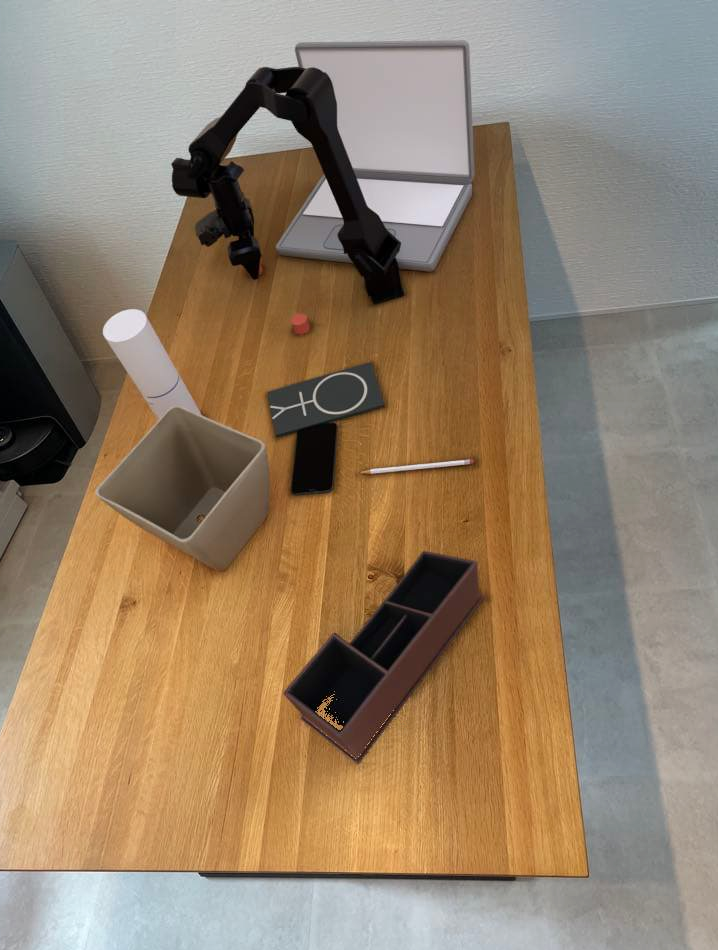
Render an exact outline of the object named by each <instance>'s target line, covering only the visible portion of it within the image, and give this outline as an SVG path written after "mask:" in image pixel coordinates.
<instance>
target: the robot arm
mask: <svg viewBox="0 0 718 950" xmlns="http://www.w3.org/2000/svg"><path fill="white" fill-rule="evenodd" d="M260 108H262V109H266V110H267V111H268V112H270V114H272V115H273V116H275V118H278V119H281V120H285V121H290V122H291V124H292V126H293V127H294V129H295V131H296V132H297V133H298V134H299V135H300V136H302V137H303V138H304V139H305V140H306V141H308V142H309V143H310V145H311V146H312V149H313V151H314V153H315V155H316V158H317V160H318V163H319V164H320V167H321V169H322V172H323V175H325V177H326V180H327V182H328V184H329V187H330V189H331V192H332V194H333V196H334V199H335V201H336V204H337V206H338V208H339V211H340V213H341V215H342V218H343V222H344V224H343V226H342V228H341V229H340V231H339V232H338V234H337V235H338V239H339V241H340V243H341V244H342V246H343V249H344V254H346V253H347V255H348V257H349V258H350V260H351V261H352V262H353V263H352V264H353V265H354V266H355V268H356V270H357V272H358V273H359V275H360V277H361V278H363V282H364V287H365V291H366V294H367V297H369V298H370V299H371V300H370V301H371V302H372V304H373V305H376V304H380V303H383V302H386V301H390V300H394V299H397V298H401V297H403V296H405V291H404V288H403V285H402V281H401V280H402V279H401V274H400V273H401V272H400V268H399V267H398V262H397V260H396V255H397V254H398V253H399V251H400V248H401V242H400V241H399V240H398V239H397V238H396V237H394V236H393V235H392V234H391V233H390V232H389V231H388V230H387V229H386V228H385V226H384V224H383V222H382V220H381V219H380V217H379V215H378V214H377V213H375V212H374V211H373V210H371V209H370V208H369V207H368V206H367V204H366V201H365V199H364V196H363V194H362V191H361V188H360V186H359V183H358V181H357V178H356V175H355V173H354V170H353V168H352V165H351V162H350V160H349V157H348V154H347V152H346V149H345V147H344V144H343V141H342V139H341V136H340V134H339V131H338V128H337V101H336V97H335V93H334V88H333V84H332V81H331V79H330V77H329V76H328V75H327V73H326V72H323V71H321V70H320V69H317V68H314V67H312V68H302V67H299V66H290V67H289V66H288V67H281V68H274V67H269V66H263V67H259V68H258V69H257V70H255V71H254V73H253V74H252V75H251V76H250V77H249V78H248V80H247V81H246V82H245V85H244V87H243V89H242V90H241V91H240V92H239V94H238V95H237V96H236V98H235V99H234V100H233V101H232V102H231V103H230V105H229V107H227V109H226V110H225V111H224V112H223V114H222V115H221V116H220V117H216V118H215V119H213V120H212V121H211V122H209V123H207V124H206V125H205V126H204V128H203V129H202V130H201V131H200V132H199V133H198V135H197V136H196V137H195V138H194V139H193V140H192V141H191V142H190V144H189V146H188V147H187V149H188V151H187V152H188V153H189V155H190V159H186V158H182V157H176V158H175V159H174V160H173V161H172V162H171V167H172V172H171V187H172V190H173V192H174V193H175V194H176V195H177V196H180V197H188V198H196V199H206V198H208V197H209V196H210V195H211V197H212V200H213V203H214V207H215V209H214V210H212V211H210V212H209V213H207V214H206V215H204V216H203V217H202V218H200V219H199V220H198V221H197V222H196V223H195V226H194V229H195V230H194V231H195V236H196V237H197V239H198V241H199V242H200V245H201V246H205V247H207V248H209V247H211V246H213V245H214V244H215V243H217V242H218V240H219V239H220V238H222V237H224V239H229V238H231V237H237V238H238V239H236V240H233V241H230V242H229V243H228V245H227V247H226V249H227V255H228V259H229V262H230V264H231V266H233V267H238V266H242V267H243V268H244V270H245V271H246V272H247V274H248V273H249V274H248V276H249V275H250V276H249V277H251V279H252V280H253V281H256V280H258V279H259V278H260V277H259V276H260V275H259V267H260V264H261V259H262V256H263V255H262V251H261V246H260V243H259V240H258V238H257V237H255V217H254V212H253V207H252V204H251V201H250V199H249V198H247V197H246V196H245V194H244V192H243V191H242V188H241V185H240V183H239V180H238V179H240V177H241V175H243V173H244V172H245V169H244V167H242V166H241V165H239V164H236V163H235V162H234V161H233V160H231V161H230V162H229V163H228V164H226V163H222V162H223V161H224V160H225V159H226V157H228V155H229V154H230V153H231V151H232V149H233V147H234V145H235V143H236V142H237V136H238V134H239V132H240V131H242V129H243V128H244V127H245V126H246V124H247V123H248V122H249V121H250V120H251V119H252V117H253V116H255V114H256V113H257V112H258V111H259V109H260Z"/></svg>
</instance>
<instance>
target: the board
mask: <svg viewBox="0 0 718 950" xmlns="http://www.w3.org/2000/svg"><path fill="white" fill-rule="evenodd" d="M266 392H267V398H268V402H269V403H268V405H269V408H270V414H271V420H272V426H273V432H274V436H275V438H276V439H277V438H278V439H279V438H281V437H284V436H288V435H291V434H295V433H297V431H298V430H301V429H304V428H308V427H311V426H315V425H318V424H324V423H335V422H337V421H341V420H343V419H348V418H351V417H354V416H358V415H362V414H365V413H368V412H372V411H375V410H379V409H382V408H385V407H386V406H385V402H384V400H383V396H382V393H381V389H380V387H379V383H378V380H377V377H376V374H375V370H374V367H373V364H372V362H371V361H369V362H365V363H361V364H359V365H355V366H351V367H349V368H345V369H341V370H337V371H334V372H331V373H329V374H325V375H320V376H316V377H314V378H310V379H307V380H304V381H300V382H296V383H293V384H290V385H286V386H282V387H280V388H279V387H278V388H276V389H272V390H268V391H266Z"/></svg>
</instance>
